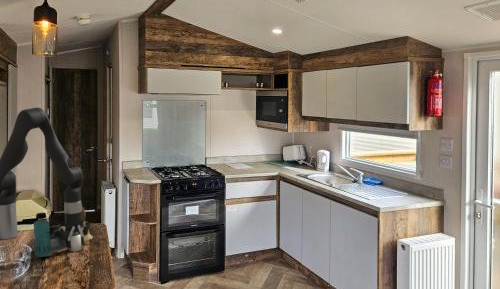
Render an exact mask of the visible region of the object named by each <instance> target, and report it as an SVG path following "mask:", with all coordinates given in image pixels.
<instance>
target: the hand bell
mask: <svg viewBox="0 0 500 289" xmlns="http://www.w3.org/2000/svg"><path fill="white" fill-rule="evenodd" d="M82 218H83V219H82V221H83V222H85V221H86V210H85V208H84V207H83V206H82ZM83 228H84V226H82V227H81V229H82V231H83ZM90 239H91V240H92V239H94V237H93V235H91V233H90V230H89V228H88V234H87V235H85V236H84V242H87V241H90Z"/></svg>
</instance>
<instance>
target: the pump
mask: <svg viewBox="0 0 500 289" xmlns="http://www.w3.org/2000/svg"><path fill="white" fill-rule="evenodd" d="M70 241H71V248H70V249H69V248H68V251H69V252H78V251H81V250H82V245H81V234H80V233H79V231H78V232H74V233H73V234H72V236H71V238H70Z"/></svg>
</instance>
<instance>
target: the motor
mask: <svg viewBox="0 0 500 289" xmlns="http://www.w3.org/2000/svg"><path fill="white" fill-rule="evenodd" d="M58 228H62V226H61V224H57V225H52V226H49V229H50V240H51V241H50V246H51V253H54V252H57V251H62V250H65V248H66V249H68V248H67V247H66V241H64V240H62V239H61V237H60V233H59V230H58ZM66 232H67V230H66V229H65V232H64V233H65V237H66Z"/></svg>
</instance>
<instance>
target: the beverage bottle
mask: <svg viewBox="0 0 500 289" xmlns="http://www.w3.org/2000/svg"><path fill="white" fill-rule="evenodd" d="M35 219H36V220H37V221H34V223H33V235H34V254H35V257H38V258H44V257H47V256H49V255H51V253H52V252H51V246H50V241H51V240H50V229H49V227H50V222H49V220H47V214H46V212H38V213H36V214H35Z"/></svg>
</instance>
